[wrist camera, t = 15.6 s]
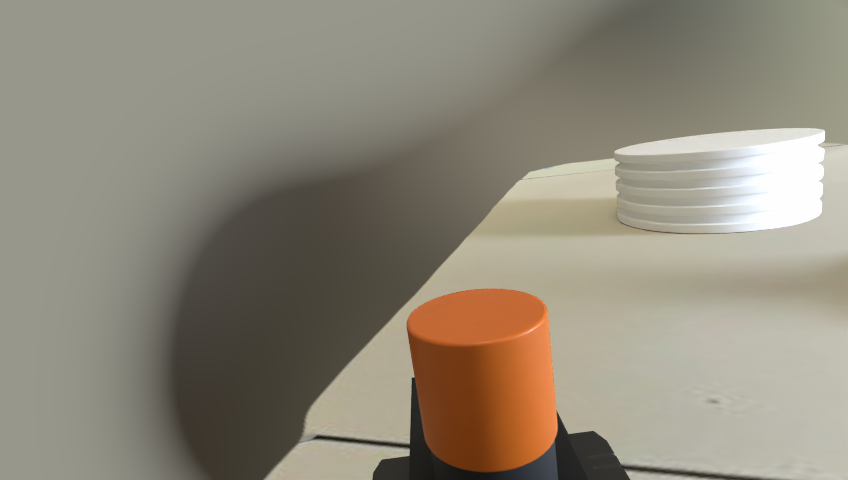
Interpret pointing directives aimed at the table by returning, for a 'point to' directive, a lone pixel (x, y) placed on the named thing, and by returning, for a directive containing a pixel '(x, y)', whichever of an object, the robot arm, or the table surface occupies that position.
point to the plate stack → (722, 181)
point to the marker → (486, 385)
